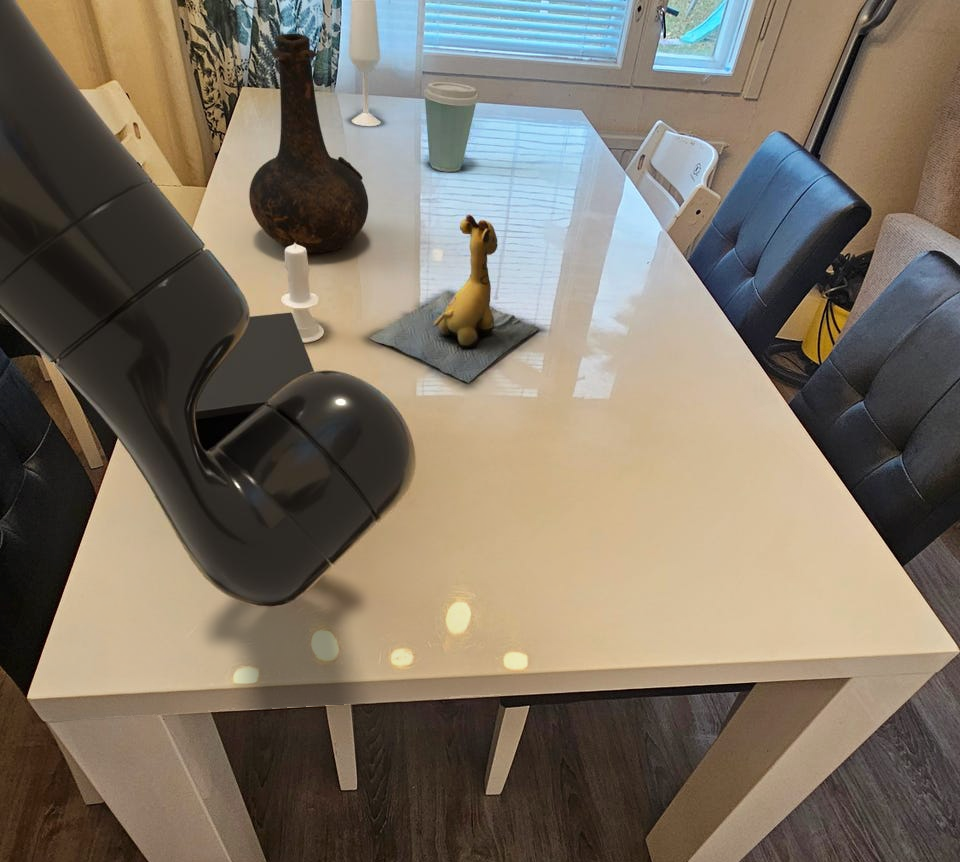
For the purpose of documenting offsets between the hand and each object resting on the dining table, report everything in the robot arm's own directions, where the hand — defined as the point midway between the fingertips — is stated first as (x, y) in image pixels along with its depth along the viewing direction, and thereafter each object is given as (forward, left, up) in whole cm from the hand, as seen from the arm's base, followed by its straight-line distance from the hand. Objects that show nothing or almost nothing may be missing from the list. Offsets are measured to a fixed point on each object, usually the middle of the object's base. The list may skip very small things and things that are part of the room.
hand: (270, 513), depth 62 cm
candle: (+10, +38, -5) cm, 40 cm away
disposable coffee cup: (+51, +97, -5) cm, 110 cm away
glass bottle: (+17, +66, -5) cm, 69 cm away
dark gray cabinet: (0, +16, -5) cm, 17 cm away
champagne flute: (+42, +128, -5) cm, 135 cm away
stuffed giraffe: (+30, +33, -5) cm, 45 cm away
